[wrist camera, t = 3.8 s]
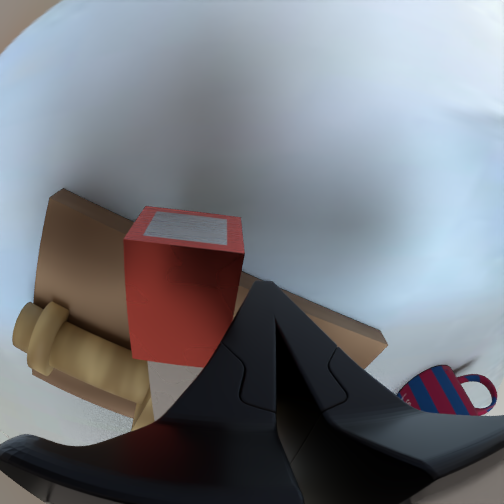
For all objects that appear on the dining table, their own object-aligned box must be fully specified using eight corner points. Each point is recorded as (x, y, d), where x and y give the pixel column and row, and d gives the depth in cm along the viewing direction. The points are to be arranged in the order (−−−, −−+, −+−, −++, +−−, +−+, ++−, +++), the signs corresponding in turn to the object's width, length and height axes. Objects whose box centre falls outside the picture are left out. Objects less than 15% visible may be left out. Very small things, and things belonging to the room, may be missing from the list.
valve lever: (205, 445, 15) (205, 477, 13) (158, 440, 15) (155, 471, 13) (240, 217, 9) (244, 253, 7) (145, 206, 8) (123, 239, 7)
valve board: (264, 437, 26) (271, 492, 21) (38, 361, 20) (12, 418, 14) (380, 330, 20) (415, 397, 15) (63, 188, 14) (-6, 240, 8)
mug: (399, 379, 24) (427, 439, 18) (481, 343, 23) (514, 390, 17) (391, 414, 27) (411, 465, 21) (465, 381, 26) (490, 424, 20)
